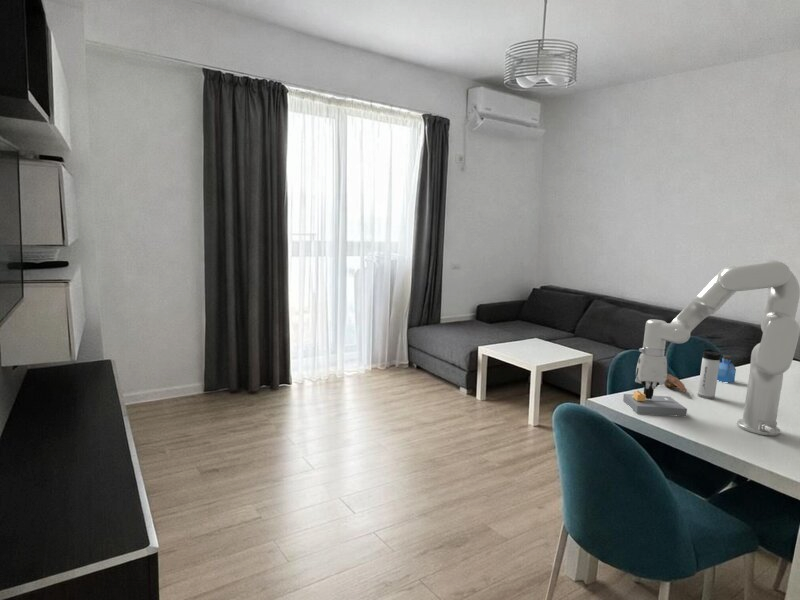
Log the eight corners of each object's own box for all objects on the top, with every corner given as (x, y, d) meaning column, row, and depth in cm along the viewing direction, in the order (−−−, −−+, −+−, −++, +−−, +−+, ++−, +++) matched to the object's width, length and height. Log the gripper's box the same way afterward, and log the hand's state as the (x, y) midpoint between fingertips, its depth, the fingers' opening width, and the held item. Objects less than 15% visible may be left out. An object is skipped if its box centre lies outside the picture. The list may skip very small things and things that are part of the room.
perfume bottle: (712, 379, 241) (716, 355, 239) (721, 378, 244) (724, 354, 242) (725, 383, 235) (729, 358, 234) (734, 382, 238) (737, 357, 236)
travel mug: (709, 394, 217) (715, 349, 214) (717, 399, 211) (724, 353, 208) (694, 393, 218) (700, 348, 215) (701, 398, 211) (708, 352, 208)
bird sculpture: (678, 397, 211) (680, 385, 211) (651, 379, 236) (652, 369, 235) (694, 398, 211) (696, 386, 211) (665, 380, 236) (666, 370, 235)
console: (686, 416, 189) (687, 408, 188) (636, 413, 190) (637, 405, 189) (668, 403, 203) (669, 396, 202) (623, 400, 204) (623, 393, 203)
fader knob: (645, 401, 194) (645, 394, 194) (637, 400, 194) (637, 393, 194) (640, 397, 198) (641, 391, 198) (633, 397, 198) (633, 390, 198)
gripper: (637, 353, 190) (631, 399, 193) (678, 355, 189) (672, 402, 192) (629, 348, 197) (624, 393, 200) (668, 350, 196) (663, 395, 199)
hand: (647, 397), depth 196 cm, fingers closed
